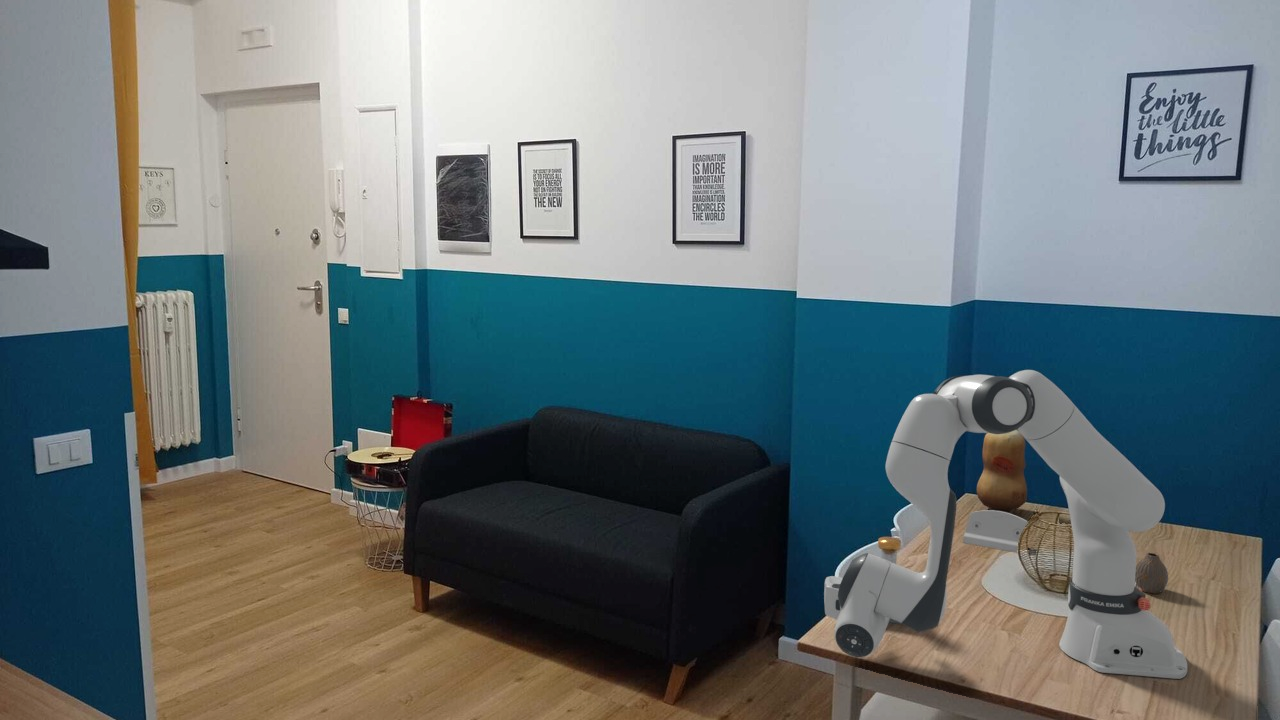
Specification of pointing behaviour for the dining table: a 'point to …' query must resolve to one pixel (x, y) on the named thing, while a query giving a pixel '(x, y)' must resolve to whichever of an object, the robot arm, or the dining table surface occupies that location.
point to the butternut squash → (1003, 472)
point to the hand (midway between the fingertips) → (879, 581)
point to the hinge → (994, 530)
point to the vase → (1151, 574)
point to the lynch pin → (889, 548)
